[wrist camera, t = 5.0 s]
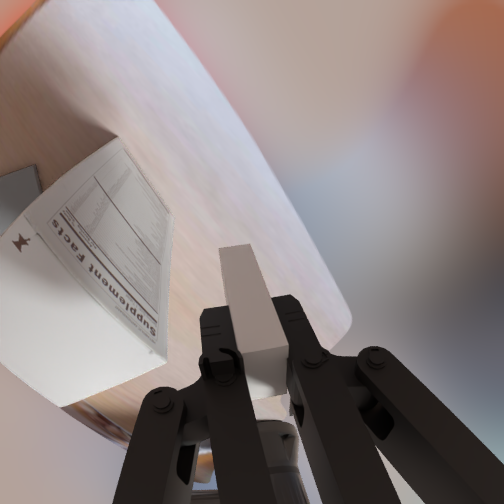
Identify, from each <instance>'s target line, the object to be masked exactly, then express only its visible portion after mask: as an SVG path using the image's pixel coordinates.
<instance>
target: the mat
mask: <svg viewBox="0 0 504 504" xmlns="http://www.w3.org/2000/svg"><path fill="white" fill-rule="evenodd" d="M42 193H43V192H42V189H41V185H40V181H39V177H38V173H37V168H36V164H35V165H32V166H29V167H26V168H23V169H20V170H18V171H15V172H12V173H9V174H6V175H4V176H1V177H0V236H1V234H2V233H3V232H4V231H5V230H6V229H7V228H8V227H9V226H10V224H11V223H12V222H13V221H14V220H15V219H16V218H17V217H18V216H19V215H20V214H21V213H22V212H23V211H24V210H25V209H26V208H27V207H28V206H29V205H30V204H31V203H32V202H33V201H34V200H35V199H36V198H37V197H39V196H40V195H41V194H42Z"/></svg>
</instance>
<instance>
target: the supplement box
mask: <svg viewBox="0 0 504 504" xmlns="http://www.w3.org/2000/svg"><path fill="white" fill-rule="evenodd" d="M174 220H175V217H174V215H173V214H172V212H171V211H170V209H169V208H168V207H167V205H166V204H165V202H164V201H163V199H162V198H161V197H160V195H159V194H158V192H157V191H156V190H155V188H154V187H153V185H152V184H151V183H150V181H149V180H148V178H147V177H146V176H145V174H144V173H143V171H142V170H141V168H140V167H139V165H138V164H137V163H136V161H135V160H134V158H133V157H132V155H131V154H130V152H129V151H128V149H127V148H126V146H125V145H124V143H123V142H122V141H121V139H120V138H119V137H116V138H114V139H113V140H111V141H110V142H108V143H107V144H105V145H104V146H102V147H101V148H99V149H98V150H97V151H95V152H94V153H92V154H91V155H89V156H88V157H86V158H85V159H84V160H82V161H81V162H79V163H78V164H77V165H75V166H74V167H73V168H71V169H70V170H69V171H68V172H66V173H65V174H64V175H62V176H61V177H60V178H59V179H58V180H57V181H56V182H55V183H53V184H52V185H51V186H50V187H49V188H48V189H46V190H45V191H44V192H43V193H42V194H41V195H40V196H39V197H37V198H36V199H35V200H34V201H33V202H32V203H31V204H30V205H29V206H28V207H27V208H26V209H25V210H24V211H23V212H22V213H21V214H20V215H19V216H18V217H17V218H16V219H15V220H14V221H13V222H12V223H11V224H10V226H9V227H8V228H7V229H6V230H5V231H4V232H3V233H2V234H1V236H0V363H2V364H3V365H4V366H5V367H6V368H7V369H9V370H10V371H11V372H12V373H13V374H15V375H16V376H17V377H18V378H20V379H21V380H22V381H23V382H25V383H26V384H27V385H28V386H30V387H31V388H33V389H34V390H35V391H36V392H38V393H39V394H41V395H42V396H43V397H45V398H46V399H48V400H49V401H51V402H52V403H54V404H55V405H56V406H58V407H64V406H67V405H69V404H72V403H75V402H77V401H80V400H82V399H85V398H87V397H89V396H92V395H94V394H97V393H99V392H102V391H104V390H106V389H109V388H111V387H114V386H116V385H119V384H121V383H124V382H126V381H128V380H131V379H133V378H135V377H137V376H140V375H142V374H144V373H146V372H148V371H150V370H153V369H155V368H157V367H159V366H161V365H163V364H165V363H166V362H167V360H168V355H167V354H168V307H169V286H170V267H171V256H172V244H173V231H174Z"/></svg>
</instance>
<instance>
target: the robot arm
mask: <svg viewBox="0 0 504 504" xmlns="http://www.w3.org/2000/svg"><path fill="white" fill-rule="evenodd" d="M219 255H220V263H221V270H222V278H223V285H224V292H225V298H226V304H227V306H221V307H214V308H207V309H204V310H203V312H202V314H201V316H200V329H201V342H202V353H203V354H202V355H201V356H200V358H199V364H198V365H199V368H200V371H201V377H200V378H199V380H197V381H196V382H195V383H194V384H192V385H190V386H188V387H186V388H183V389H181V390H178V391H177V390H176V389H174V388H171V387H158V388H156V389H153V390H151V391H150V392H149V393H148V394H147V395H146V396H145V398H144V400H143V402H142V405H141V408H140V411H139V414H138V417H137V420H136V424H135V427H134V430H133V433H132V436H131V440H130V443H129V446H128V450H127V453H126V456H125V460H124V463H123V467H122V471H121V474H120V477H119V481H118V485H117V488H116V492H115V496H114V499H113V503H112V504H310V502H309V499H308V496H307V493H306V490H305V487H304V485H303V481H302V478H301V475H300V472H299V469H298V464H297V463H298V446H299V437H298V434H297V431H296V428H295V427H294V426H293V425H292V424H290V423H287V422H281V421H266V422H258V423H257V422H256V418H255V414H254V410H253V405H252V401H251V400H257V399H262V398H267V397H272V396H277V395H282V394H286V393H287V388H288V391H289V394H290V409H289V412H290V416H293V415H294V419H295V421H296V425H297V428H298V431H299V434H300V437H301V440H302V443H303V446H304V449H305V452H306V455H307V458H308V461H309V464H310V467H311V470H312V473H313V476H314V479H315V482H316V485H317V488H318V491H319V494H320V497H321V500H322V503H323V504H401V502H400V499H399V497H398V495H397V492H396V490H395V488H394V486H393V484H392V481H391V479H390V477H389V475H388V472H387V470H386V468H385V466H384V464H383V462H382V460H381V457H380V455H379V453H378V451H377V448H378V449H379V450H380V451H381V453H382V454H383V455H384V456H385V457H386V458H387V460H388V461H389V462H390V463H391V464H392V465H393V467H394V468H395V469H396V470H397V471H398V473H399V474H400V475H401V476H402V477H403V479H404V480H405V481H406V482H407V483H408V484H409V486H410V487H411V488H412V489H413V490H414V491H415V492H416V494H418V496H419V497H420V498H421V499H422V501H423V502H424V503H425V504H504V464H503V463H502V462H501V461H500V460H499V459H498V458H497V457H496V456H495V455H494V454H493V453H492V452H491V451H490V450H489V449H488V448H487V447H486V446H485V445H484V444H483V443H482V442H481V441H480V440H479V439H478V438H477V437H476V436H475V435H474V434H473V433H472V432H471V431H470V430H469V429H468V428H467V427H466V426H465V425H464V424H463V423H462V422H461V421H460V420H459V419H458V418H457V417H456V416H455V415H454V414H453V413H452V412H451V411H450V410H449V409H448V408H447V407H446V406H445V405H444V404H443V403H442V402H441V401H440V400H439V399H438V398H437V397H436V396H435V395H434V394H433V393H432V392H431V391H430V390H429V389H428V388H427V387H426V386H425V385H424V384H423V383H422V382H420V380H419V379H418V378H417V377H415V376H414V375H413V374H412V373H411V372H410V371H409V370H408V369H407V368H406V367H405V366H404V365H403V364H402V363H401V362H400V361H399V360H398V359H397V358H396V357H395V356H394V355H393V354H391V353H390V352H389V351H388V350H386V349H384V348H381V347H378V346H370V347H367V348H364V349H363V350H362V351H361V352H359V355H358V357H351V356H350V357H349V356H345V357H344V356H336V355H333V354H330V352H329V351H328V350H326V349H324V348H323V347H321V345H320V343H319V341H318V339H317V337H316V335H315V333H314V331H313V329H312V327H311V325H310V323H309V321H308V319H307V317H306V314H305V312H304V311H303V308H302V306H301V304H300V302H299V301H298V300H297V299H296V298H294V297H293V296H292V295H284V296H278V297H273V298H271V297H270V294H269V292H268V289H267V287H266V284H265V281H264V279H263V276H262V273H261V271H260V268H259V266H258V263H257V260H256V258H255V255H254V252H253V250H252V247H251V245H250V244H245V245H238V246H231V247H224V248H219ZM208 438H210V441H211V449H212V456H213V462H214V469H215V475H216V481H217V488H218V490H192V488H193V482H194V476H195V470H196V464H197V458H198V452H199V446H200V442H201V441H204V440H206V439H208ZM375 445H376V447H377V448H376V447H375Z"/></svg>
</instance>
